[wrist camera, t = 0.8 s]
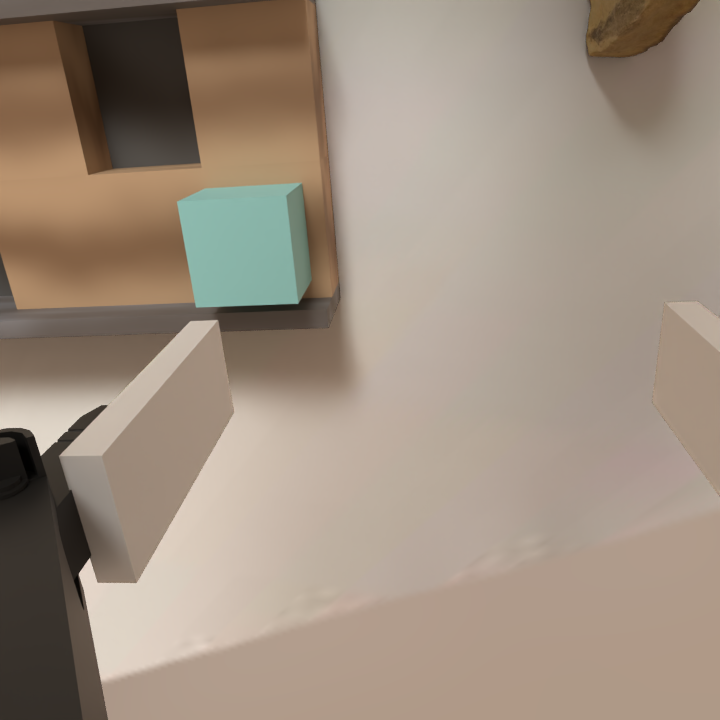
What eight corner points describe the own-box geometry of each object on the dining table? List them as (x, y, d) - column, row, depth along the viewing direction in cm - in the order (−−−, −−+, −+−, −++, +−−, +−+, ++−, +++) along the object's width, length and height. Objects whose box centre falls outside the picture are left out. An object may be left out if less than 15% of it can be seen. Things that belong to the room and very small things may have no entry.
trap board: (-205, 30, 33) (-304, 21, 29) (313, -19, 30) (294, -37, 26) (-99, 314, 40) (-166, 344, 35) (340, 297, 37) (328, 327, 32)
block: (204, 188, 32) (177, 201, 28) (301, 182, 31) (286, 195, 28) (220, 283, 34) (195, 307, 30) (311, 279, 33) (298, 303, 30)
